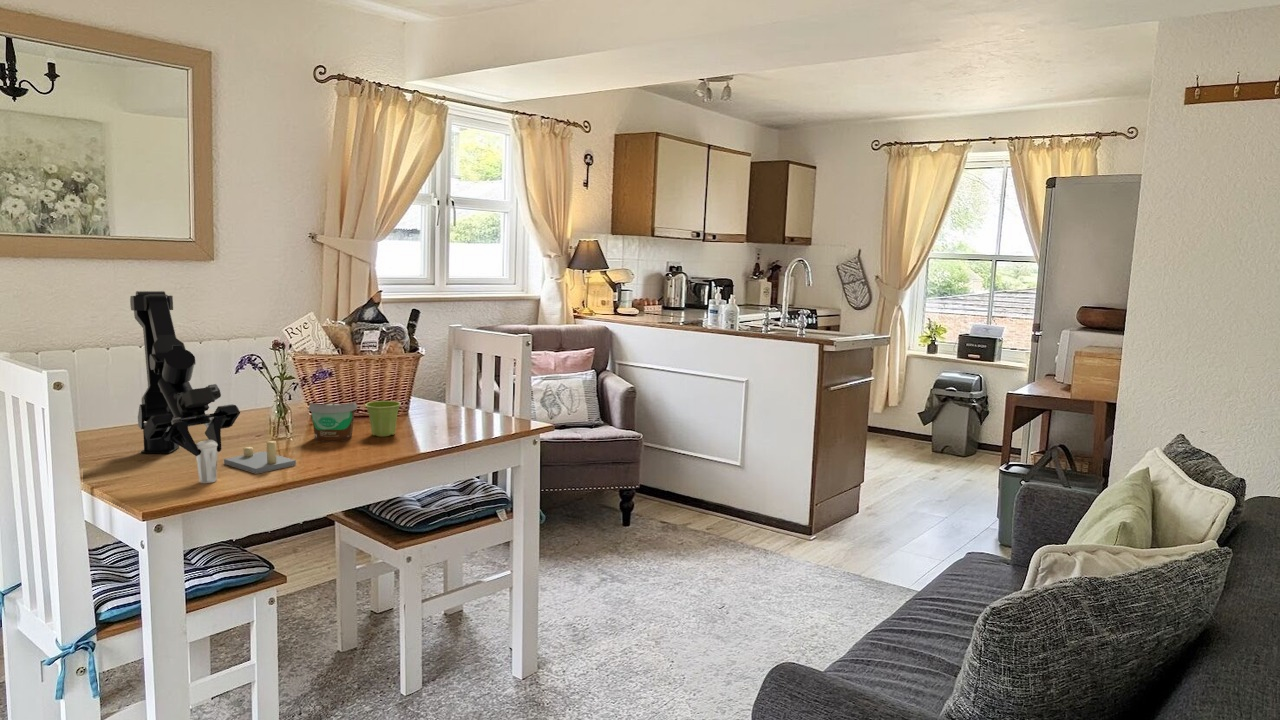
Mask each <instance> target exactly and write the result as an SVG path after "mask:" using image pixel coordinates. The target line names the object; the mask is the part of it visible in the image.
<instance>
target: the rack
mask: <svg viewBox="0 0 1280 720" xmlns="http://www.w3.org/2000/svg"><path fill="white" fill-rule="evenodd" d="M223 464H224V465H226V466H230V467H233V468H236V469H239V470H241V471H246V472H249V473H251V474H255V475H258V474H262V473H266V472H271V471H276V470H279V469H285V468H290V467H294V466H296V465H297V461H296V459H292V458H288V457H285V456H282V455H279V454H277V441H276V440H270V441H266V451H265V450H263V451H258V452H254V448H253V447H252V446H247V447H243V454H242V455H237V456H231V457H227V458H224V459H223Z"/></svg>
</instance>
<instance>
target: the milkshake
mask: <svg viewBox="0 0 1280 720" xmlns="http://www.w3.org/2000/svg"><path fill="white" fill-rule="evenodd" d="M195 444H196V446H197V448H198V451H199V455H198V456H195V459H196V465H197V472H198V473H197V474H198V480H199V483H200V484H213V483H215V482H217V472H218V471H217V470H218V467H217V466H218V464H217V463H218V451H217V450H218V444H217V443H216V442H215V441H214V440H209V439H208V438H207V439H205V440H200V441H198V442H196V443H195Z"/></svg>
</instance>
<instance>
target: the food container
mask: <svg viewBox="0 0 1280 720" xmlns="http://www.w3.org/2000/svg"><path fill="white" fill-rule="evenodd" d="M357 409H358V405H357V403H356V401H353V402H350V403H345V404H343V403H335V402H331V403H324V404H317V403H313V402H310V403H309V407H308V411H309V412H311V418H312V425H313V433H314V439H315V441H317V442H318V441H319V442H323V443H324V442H326V443H334V442H335V443H336V442H343V441H349V440H350V439H352V438H353V428H354V418H355V410H357Z"/></svg>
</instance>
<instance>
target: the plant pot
mask: <svg viewBox="0 0 1280 720" xmlns="http://www.w3.org/2000/svg"><path fill="white" fill-rule="evenodd" d="M364 405H365V407H366V410H367V413H368V417H369V423H370V429H371V434H372V436H376V437H380V438H381V437H389V436H393V435H395V434H396V427H397V421H398V412H399V410H400V406H401V405H402V403H401V402H400V401H394V400H377V401H376V400H375V401H370V402H366V403H365V404H364Z"/></svg>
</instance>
